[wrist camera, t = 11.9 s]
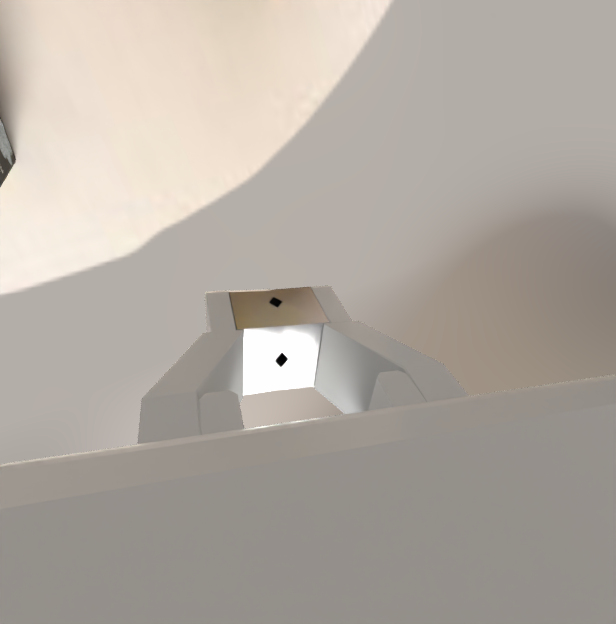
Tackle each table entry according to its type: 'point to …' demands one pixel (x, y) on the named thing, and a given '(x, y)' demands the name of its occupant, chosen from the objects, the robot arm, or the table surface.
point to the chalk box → (5, 155)
